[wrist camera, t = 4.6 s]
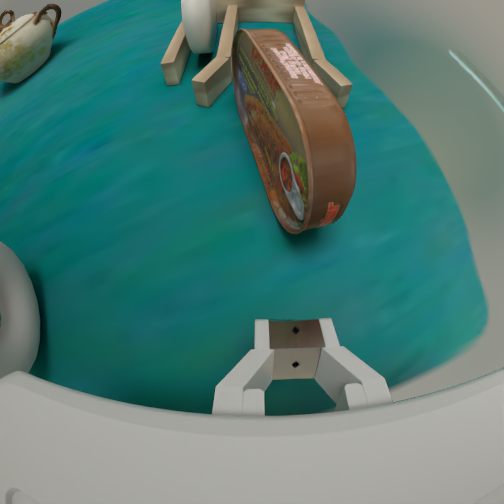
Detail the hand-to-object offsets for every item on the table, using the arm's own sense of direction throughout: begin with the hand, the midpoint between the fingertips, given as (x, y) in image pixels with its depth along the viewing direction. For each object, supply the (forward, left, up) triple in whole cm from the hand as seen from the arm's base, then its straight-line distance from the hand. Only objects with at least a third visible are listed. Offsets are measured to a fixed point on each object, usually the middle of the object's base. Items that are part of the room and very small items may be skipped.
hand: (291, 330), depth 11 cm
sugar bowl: (-41, +39, -5) cm, 57 cm away
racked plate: (-7, +28, -5) cm, 30 cm away
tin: (0, +12, -5) cm, 13 cm away
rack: (-2, +27, -5) cm, 28 cm away
